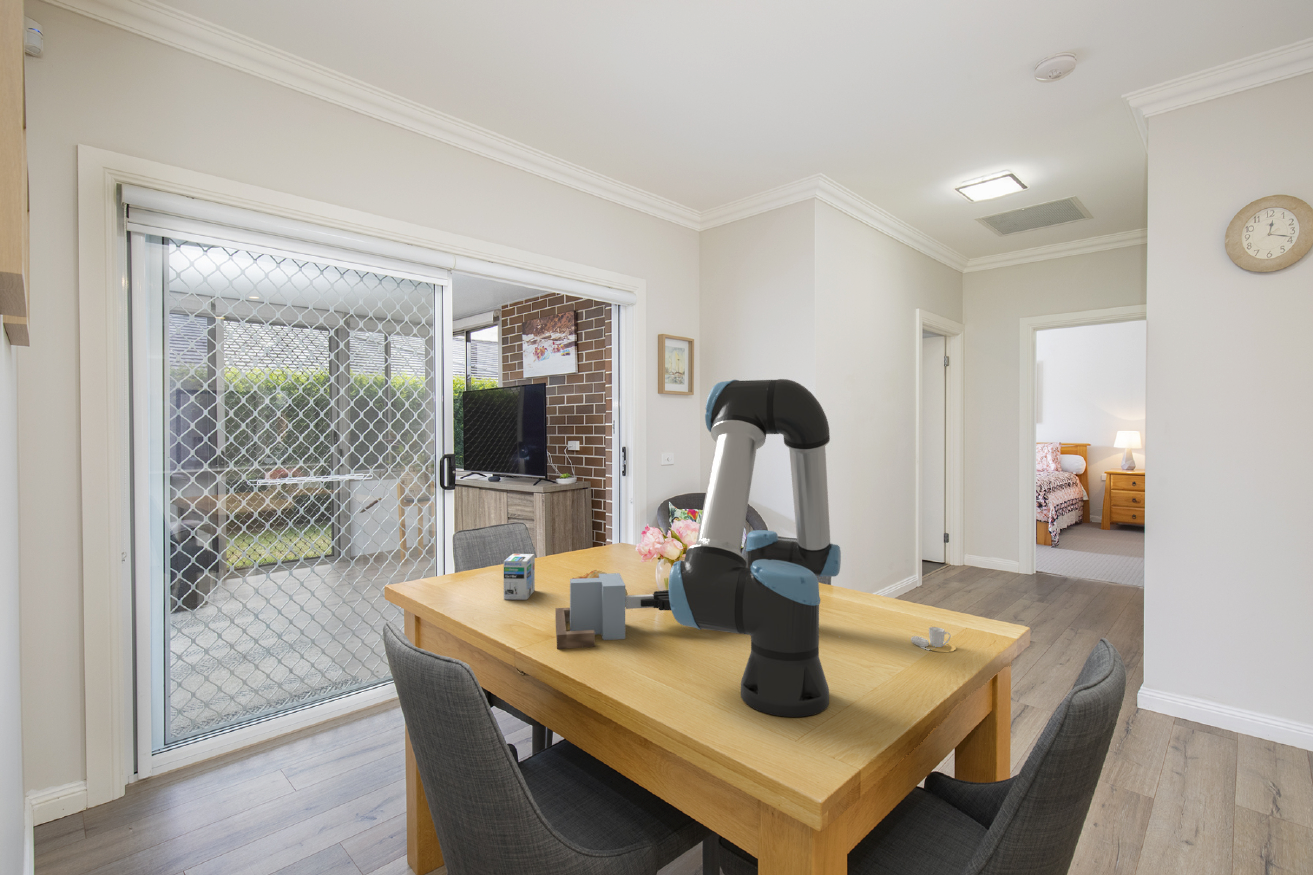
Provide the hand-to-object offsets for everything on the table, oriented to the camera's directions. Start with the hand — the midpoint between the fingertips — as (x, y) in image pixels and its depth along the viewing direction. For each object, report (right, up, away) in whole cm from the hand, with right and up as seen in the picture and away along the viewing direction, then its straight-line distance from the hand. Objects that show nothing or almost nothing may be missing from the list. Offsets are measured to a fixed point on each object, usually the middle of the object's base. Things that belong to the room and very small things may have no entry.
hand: (625, 602), depth 145 cm
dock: (-12, -7, -2) cm, 14 cm away
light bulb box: (-32, -6, +30) cm, 44 cm away
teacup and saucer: (+67, -8, -7) cm, 68 cm away
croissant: (-10, -7, +32) cm, 34 cm away
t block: (-7, -6, -1) cm, 10 cm away
